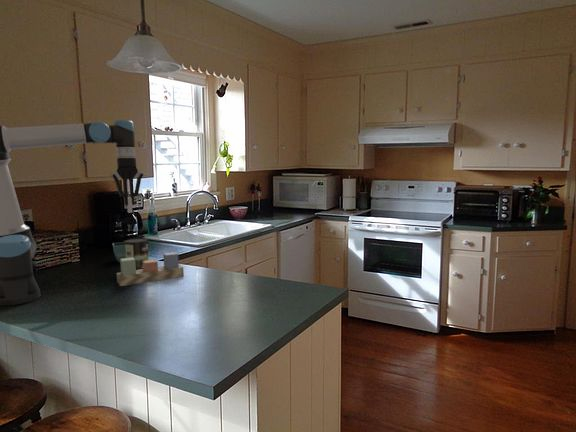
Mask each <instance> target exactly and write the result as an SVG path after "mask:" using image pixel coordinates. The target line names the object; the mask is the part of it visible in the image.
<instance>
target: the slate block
mask: <svg viewBox="0 0 576 432" xmlns="http://www.w3.org/2000/svg"><path fill="white" fill-rule="evenodd" d="M162 254H163V266H164V268H166V269H172V268H179V265H180V263H179V254H178V252H176V251H172V252H164V253H162Z"/></svg>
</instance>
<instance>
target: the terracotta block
mask: <svg viewBox="0 0 576 432" xmlns="http://www.w3.org/2000/svg"><path fill="white" fill-rule="evenodd" d="M158 267H159V266H158V260H156V259H149V260H146V261H143V271H144V272H152V271H158Z"/></svg>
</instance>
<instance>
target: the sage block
mask: <svg viewBox="0 0 576 432" xmlns="http://www.w3.org/2000/svg"><path fill="white" fill-rule="evenodd" d="M119 264H120V272H121V274H122V275H123V276H125V275H132V274H136V264H135V259H134V258H133V257H131V258H123V259H120V262H119Z"/></svg>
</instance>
